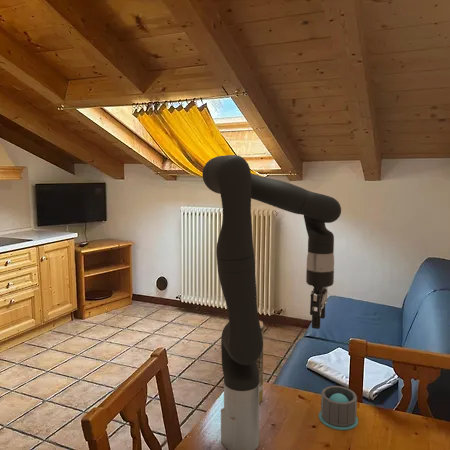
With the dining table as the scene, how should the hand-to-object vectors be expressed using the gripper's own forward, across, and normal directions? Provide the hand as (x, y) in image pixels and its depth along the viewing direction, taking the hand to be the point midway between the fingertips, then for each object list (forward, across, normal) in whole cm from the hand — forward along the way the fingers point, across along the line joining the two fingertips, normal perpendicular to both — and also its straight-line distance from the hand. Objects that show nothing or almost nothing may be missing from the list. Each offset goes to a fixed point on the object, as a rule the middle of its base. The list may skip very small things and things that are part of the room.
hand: (318, 322), depth 122 cm
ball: (+24, 0, -6) cm, 25 cm away
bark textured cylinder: (+28, 0, +20) cm, 35 cm away
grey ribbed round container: (+28, 0, -6) cm, 29 cm away
